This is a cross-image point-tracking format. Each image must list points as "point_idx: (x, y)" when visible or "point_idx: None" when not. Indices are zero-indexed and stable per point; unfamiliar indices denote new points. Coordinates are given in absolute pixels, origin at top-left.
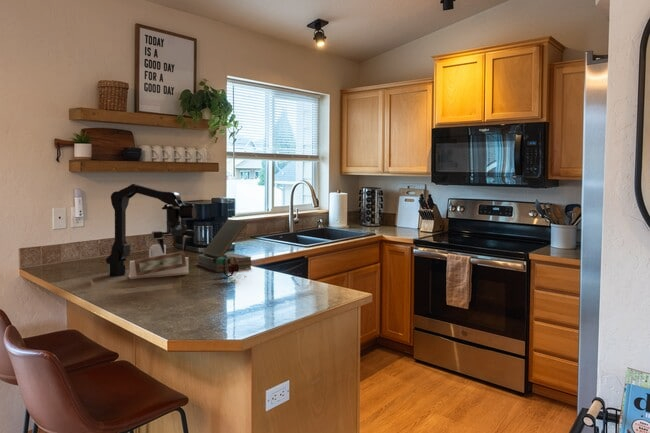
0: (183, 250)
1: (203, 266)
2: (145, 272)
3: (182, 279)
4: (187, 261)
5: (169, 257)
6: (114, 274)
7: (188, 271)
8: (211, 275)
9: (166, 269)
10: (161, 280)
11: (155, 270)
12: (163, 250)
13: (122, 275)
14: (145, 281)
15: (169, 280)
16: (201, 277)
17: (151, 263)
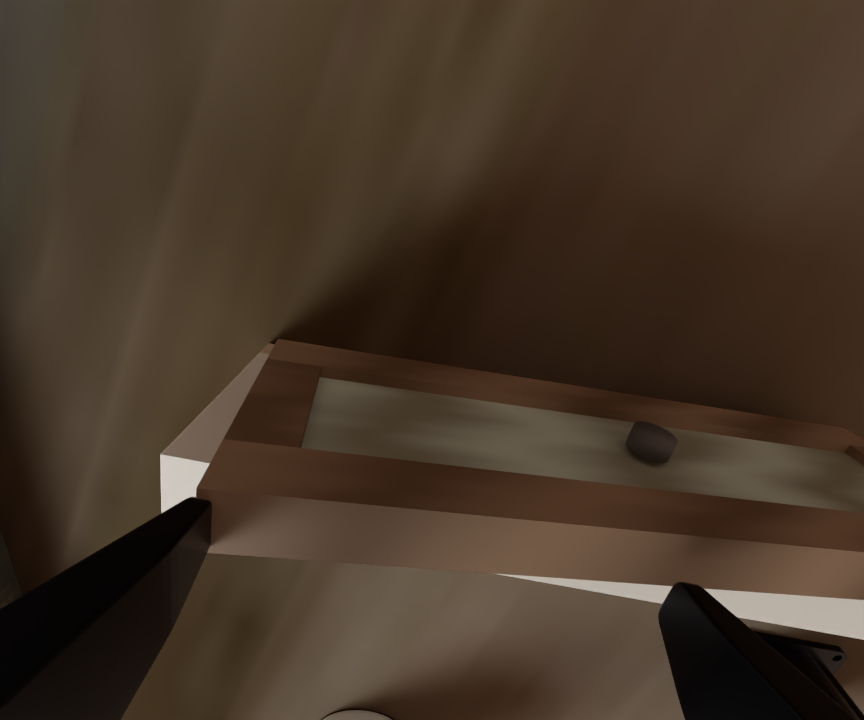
0: (197, 526)
1: (8, 590)
2: (785, 427)
3: (477, 50)
4: (210, 421)
5: (544, 477)
6: (816, 663)
7: (256, 356)
8: (31, 74)
9: (551, 384)
10: (699, 177)
11: (683, 411)
12: (743, 634)
13: (757, 633)
14: (853, 244)
15: (636, 103)
16: (202, 13)
17: (786, 488)
